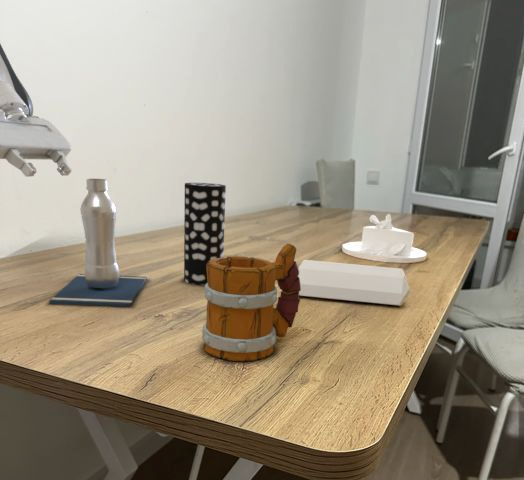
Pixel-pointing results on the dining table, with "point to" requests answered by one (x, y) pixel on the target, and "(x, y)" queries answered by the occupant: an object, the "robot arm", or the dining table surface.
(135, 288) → the towel
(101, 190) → the silver metal bottle
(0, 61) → the robot arm
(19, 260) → the dining table surface
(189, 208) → the white-spotted black cylinder
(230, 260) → the mug
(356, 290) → the white hexagonal prism
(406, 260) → the dish
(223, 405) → the dining table surface
